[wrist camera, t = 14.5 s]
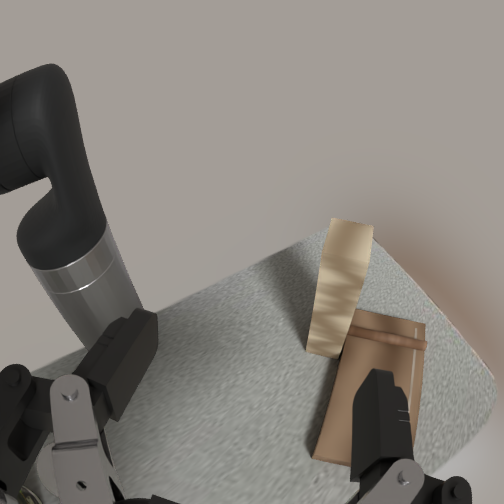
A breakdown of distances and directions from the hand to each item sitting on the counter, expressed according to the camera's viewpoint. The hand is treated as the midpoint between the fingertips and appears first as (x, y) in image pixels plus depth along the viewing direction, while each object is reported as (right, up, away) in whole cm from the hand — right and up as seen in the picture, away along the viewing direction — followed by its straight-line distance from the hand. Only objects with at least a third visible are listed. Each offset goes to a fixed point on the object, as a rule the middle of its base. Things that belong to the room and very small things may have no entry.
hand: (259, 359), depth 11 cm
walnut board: (+14, -12, +21) cm, 28 cm away
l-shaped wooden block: (+14, -8, +26) cm, 30 cm away
